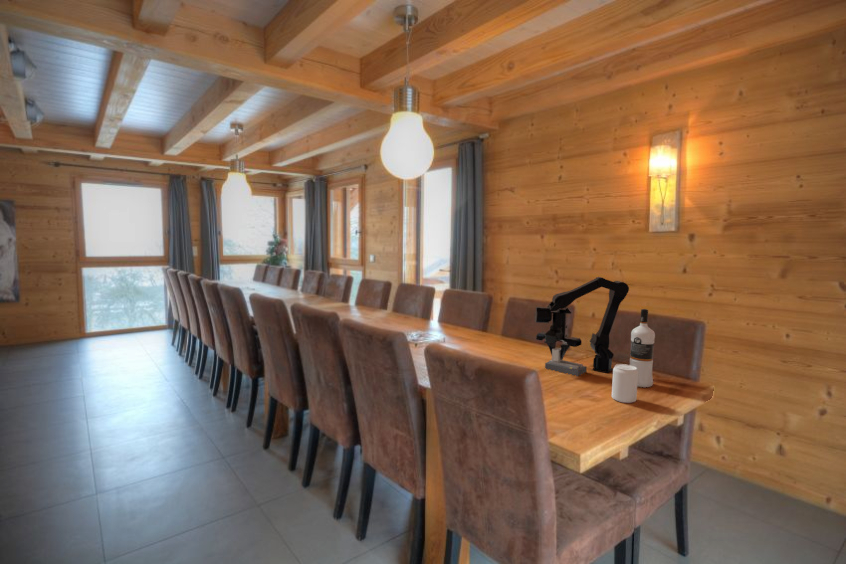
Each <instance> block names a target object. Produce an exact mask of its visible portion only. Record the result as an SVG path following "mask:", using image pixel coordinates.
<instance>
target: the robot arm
mask: <svg viewBox="0 0 846 564" xmlns="http://www.w3.org/2000/svg"><path fill="white" fill-rule="evenodd" d="M600 288H603V289H604V288H605V289H606V290H608V303H607V305H606V308H605V312H604V313H603V317H602V320H601V323H600V326H599V328H598V331H596V333H592V334H591V339H590V340H589V342H590V347H591V349H592V350H593V351H594V354H595V355H594V358H593V365H592V370H594V371H597V372H601V373H607V374H608V373H610V372H611V371H612V372H613V369H614V368H612V365H613V363H612V361H613V358H614V355H615V354H614V353H613V352H612V351H611V350H610V333H611V330H612V328H613V325H614V322H615V319H616V316H617V313H618V311H619V308H620V305H621V303H622V302H623V301H624V300H625V298H626V297H627V295H628V293H629V291H630V287H629V286H628V284H627V282H624V281H621V280H615V281H612V280H609V279H606V278H604V277H601V276H597V277H595V278H594V279H591V280H590V281H588V282H586V283H583V284H581V285H580V286H578V287H575V288H574V289H570V290H568V291H562V292H559V293H555V294H554V295H553V296H552V297H551V298H552V299H551V302H550V303H549V304H548V305H547V306H546V307H543V306H542V307H541V306H536V307H535V312H534V317H533V318H534V323H538V324H540V323H542V324H543V323H544V324H549V323H550V322H551V324H550V328H549V330H547V332H546V331H541V332H537V334H536V335H535V340H538V341H543V342H544V344H546V345H547V346H548V348H549V351H550V354H551V356H552V349H554V348H556V347H557V342H560V343H562V344H559V346H560V348H561V356H560V357H561V359H563V360H564V357H565V355H566V353H567V351H568V350H569V348H570V347H573V348H577V347H580V346H581V345H582V340H581V338H580V337H576V336H575V337H574V336H572V337H569V338H567V337H568V336H567V334H566V331H567V330H566V329H567V328H568V325H567V315H568V314H570V315H571V314H572V312H571V310H570V309H569V308H568V306H570V305H571V304H572V303H573V302H574V301H576V300H578V299H579V298H581V297H583V296H585V295H587V294H589V293H592V292H594V291H595V290H598V289H600Z"/></svg>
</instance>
